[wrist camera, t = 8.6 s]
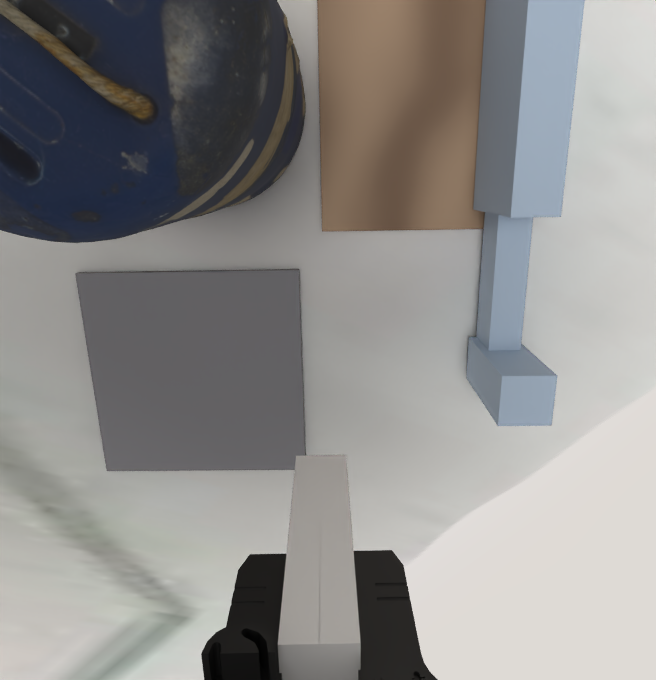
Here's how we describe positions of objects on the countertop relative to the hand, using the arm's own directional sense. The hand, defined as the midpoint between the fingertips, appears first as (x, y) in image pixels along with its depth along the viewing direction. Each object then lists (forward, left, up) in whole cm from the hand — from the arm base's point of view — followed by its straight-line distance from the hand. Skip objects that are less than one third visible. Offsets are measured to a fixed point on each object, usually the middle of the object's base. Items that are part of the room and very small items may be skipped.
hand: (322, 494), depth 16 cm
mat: (-8, -1, -14) cm, 16 cm away
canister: (-5, +13, -15) cm, 20 cm away
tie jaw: (+9, +8, -14) cm, 18 cm away
